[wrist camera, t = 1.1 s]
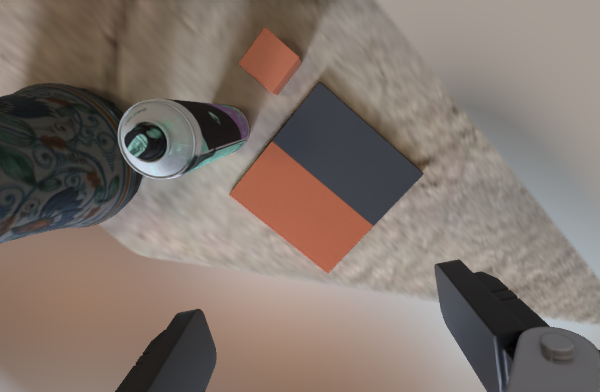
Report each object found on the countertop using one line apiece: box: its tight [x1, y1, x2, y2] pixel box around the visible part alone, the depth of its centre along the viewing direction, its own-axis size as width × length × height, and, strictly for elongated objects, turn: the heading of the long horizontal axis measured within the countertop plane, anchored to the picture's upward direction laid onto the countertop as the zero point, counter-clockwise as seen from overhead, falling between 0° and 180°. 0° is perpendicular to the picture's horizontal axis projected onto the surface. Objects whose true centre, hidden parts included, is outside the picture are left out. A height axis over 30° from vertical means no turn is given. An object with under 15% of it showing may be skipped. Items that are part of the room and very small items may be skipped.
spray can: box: [118, 99, 249, 179], centre depth 29 cm, size 6×6×20 cm
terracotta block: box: [238, 27, 301, 95], centre depth 35 cm, size 4×4×4 cm
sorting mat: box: [229, 82, 423, 273], centre depth 40 cm, size 16×17×1 cm
